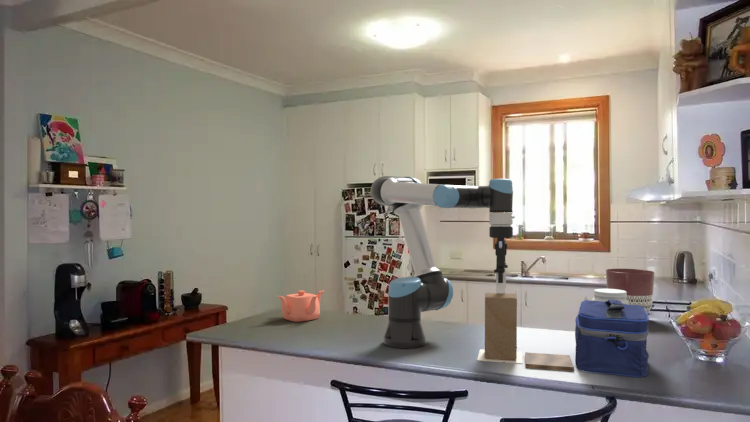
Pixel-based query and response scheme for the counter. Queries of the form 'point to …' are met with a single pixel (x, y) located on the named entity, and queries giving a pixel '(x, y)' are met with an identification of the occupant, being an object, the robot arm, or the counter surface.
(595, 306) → the lunch bag
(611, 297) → the supplement tub
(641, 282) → the planter
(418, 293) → the robot arm
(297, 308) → the pot
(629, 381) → the counter surface
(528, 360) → the board
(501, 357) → the wooden block
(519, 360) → the tile
